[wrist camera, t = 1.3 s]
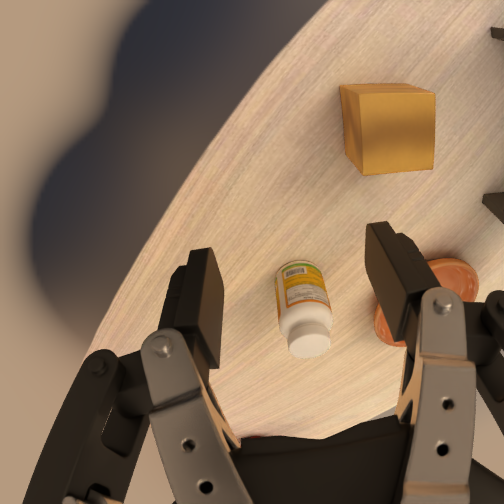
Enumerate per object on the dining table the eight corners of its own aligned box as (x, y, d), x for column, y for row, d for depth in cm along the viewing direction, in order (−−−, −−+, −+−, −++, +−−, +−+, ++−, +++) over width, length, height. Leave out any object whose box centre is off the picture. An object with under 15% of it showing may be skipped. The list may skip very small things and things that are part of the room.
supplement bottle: (302, 300, 37) (314, 368, 30) (265, 284, 36) (269, 355, 28) (331, 270, 35) (350, 339, 27) (292, 251, 33) (305, 322, 25)
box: (339, 85, 22) (358, 93, 18) (406, 83, 22) (435, 93, 18) (345, 154, 26) (362, 176, 22) (408, 149, 26) (433, 169, 22)
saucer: (386, 346, 44) (391, 361, 42) (352, 287, 36) (358, 305, 34) (472, 299, 39) (480, 313, 36) (462, 226, 31) (475, 241, 28)
